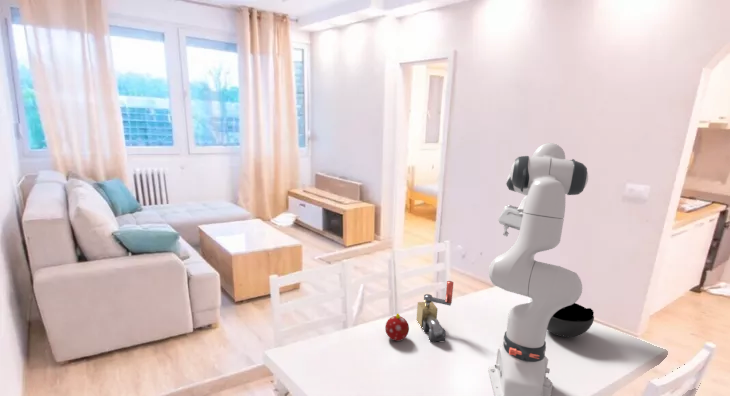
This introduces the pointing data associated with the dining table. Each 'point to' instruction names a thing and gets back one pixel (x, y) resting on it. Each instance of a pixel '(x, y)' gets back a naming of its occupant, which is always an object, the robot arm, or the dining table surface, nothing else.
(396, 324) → the christmas ornament
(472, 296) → the dining table surface
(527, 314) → the robot arm
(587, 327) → the bowl of black rocks
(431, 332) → the valve
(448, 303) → the lever
